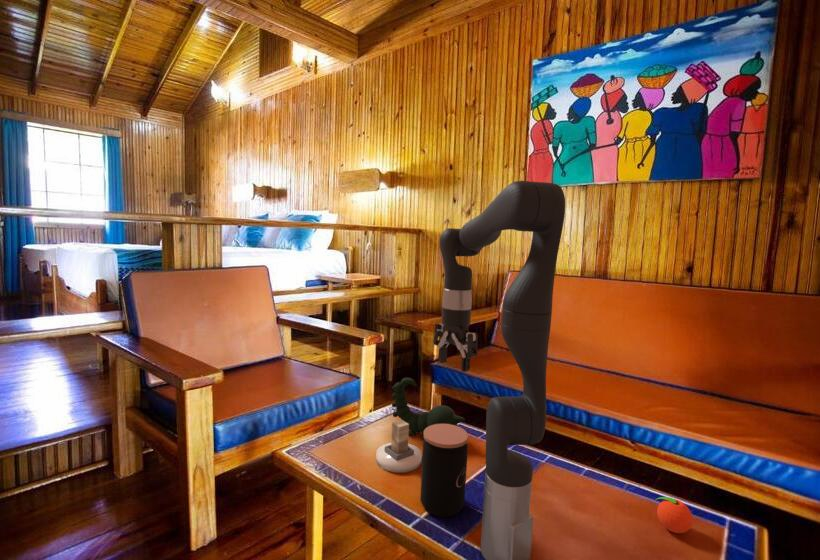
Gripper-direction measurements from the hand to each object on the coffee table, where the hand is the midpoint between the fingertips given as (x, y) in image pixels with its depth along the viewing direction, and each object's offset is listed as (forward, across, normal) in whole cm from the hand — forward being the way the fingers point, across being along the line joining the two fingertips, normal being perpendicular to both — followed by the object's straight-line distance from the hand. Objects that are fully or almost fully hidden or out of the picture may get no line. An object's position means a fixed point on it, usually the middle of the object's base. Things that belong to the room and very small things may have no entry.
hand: (453, 366), depth 114 cm
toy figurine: (+30, +20, -9) cm, 37 cm away
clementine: (+30, -45, -28) cm, 61 cm away
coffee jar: (+30, -9, +10) cm, 33 cm away
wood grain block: (+28, +13, +7) cm, 32 cm away
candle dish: (+30, +13, +7) cm, 34 cm away
